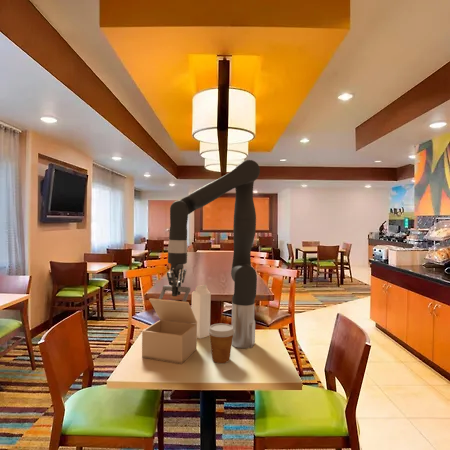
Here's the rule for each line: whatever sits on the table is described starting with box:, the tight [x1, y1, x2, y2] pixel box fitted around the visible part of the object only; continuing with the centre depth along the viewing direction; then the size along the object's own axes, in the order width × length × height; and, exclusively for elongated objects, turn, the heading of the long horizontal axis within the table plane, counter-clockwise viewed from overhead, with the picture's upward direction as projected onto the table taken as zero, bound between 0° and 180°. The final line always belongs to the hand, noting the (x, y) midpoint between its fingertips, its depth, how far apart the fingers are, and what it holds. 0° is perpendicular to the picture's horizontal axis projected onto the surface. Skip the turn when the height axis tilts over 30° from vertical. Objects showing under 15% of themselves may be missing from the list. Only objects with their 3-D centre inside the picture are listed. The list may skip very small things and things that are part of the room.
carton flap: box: [148, 284, 197, 324], centre depth 135 cm, size 16×14×9 cm
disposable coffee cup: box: [208, 323, 234, 364], centre depth 125 cm, size 10×10×12 cm
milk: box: [191, 284, 212, 340], centre depth 149 cm, size 6×6×22 cm
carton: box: [141, 319, 198, 365], centre depth 130 cm, size 16×14×10 cm
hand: (176, 295), depth 134 cm, fingers closed on carton flap, 2 cm apart
